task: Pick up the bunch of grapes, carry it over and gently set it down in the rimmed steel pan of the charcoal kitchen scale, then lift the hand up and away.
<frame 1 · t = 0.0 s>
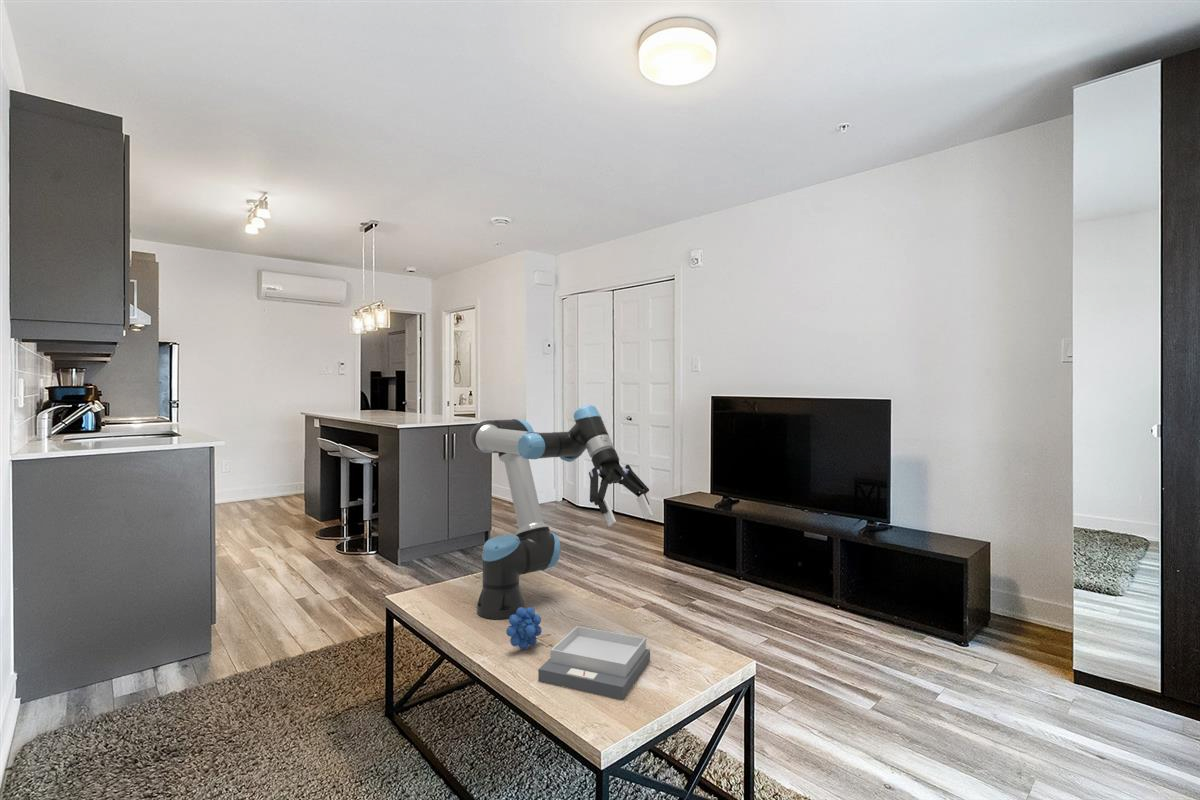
hand: (631, 520, 157), 36 cm above the table, tool tilted 35°, fingers open, 13 cm apart
scale: (599, 667, 148), on the table
grapes: (526, 651, 157), on the table
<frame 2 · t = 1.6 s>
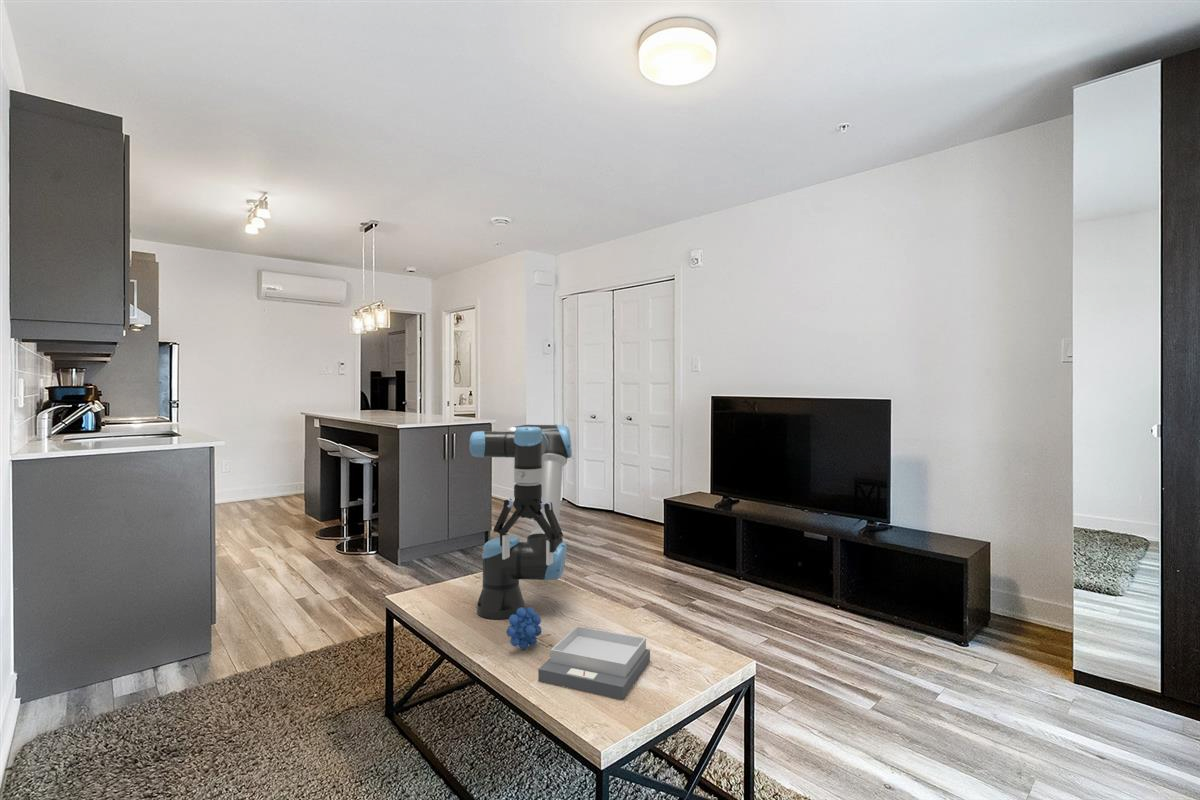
hand: (527, 561, 157), 25 cm above the table, tool pointing down, fingers open, 13 cm apart
nothing on the table moved.
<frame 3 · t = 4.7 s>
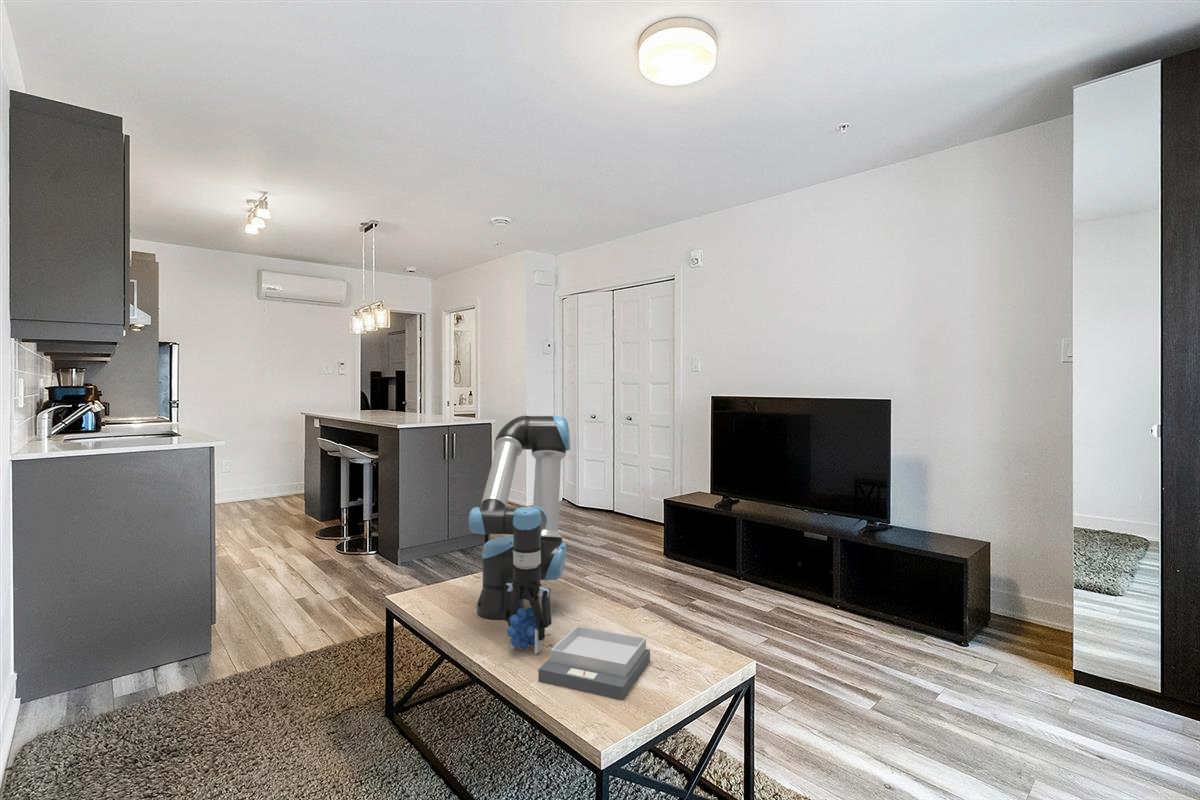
hand: (526, 648, 157), 1 cm above the table, tool pointing down, fingers closed on grapes, 7 cm apart
grapes: (526, 651, 157), on the table, touching gripper
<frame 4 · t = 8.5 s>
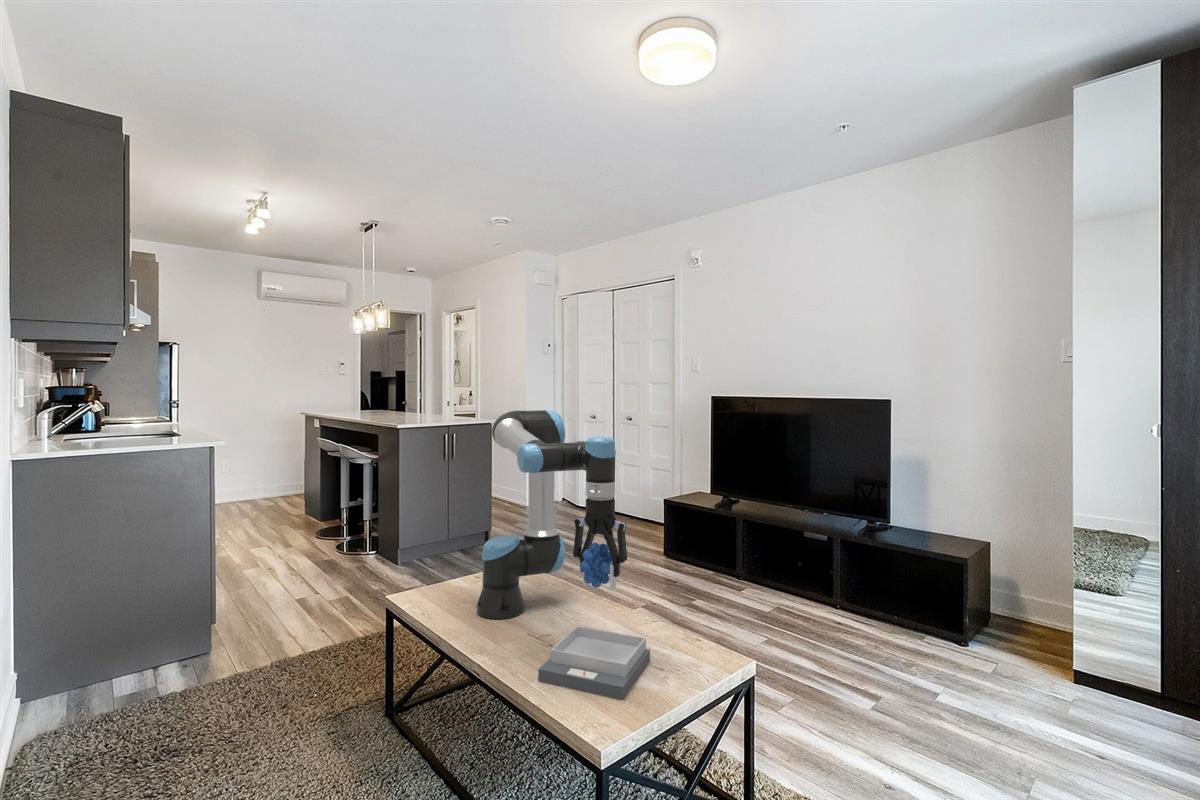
hand: (599, 586, 148), 21 cm above the table, tool pointing down, fingers closed on grapes, 7 cm apart
grapes: (599, 589, 148), point 20 cm above the table, touching gripper
when the fingers open (6 cm above the table, at t = 12.0 s): grapes drops 1 cm, resting on scale.
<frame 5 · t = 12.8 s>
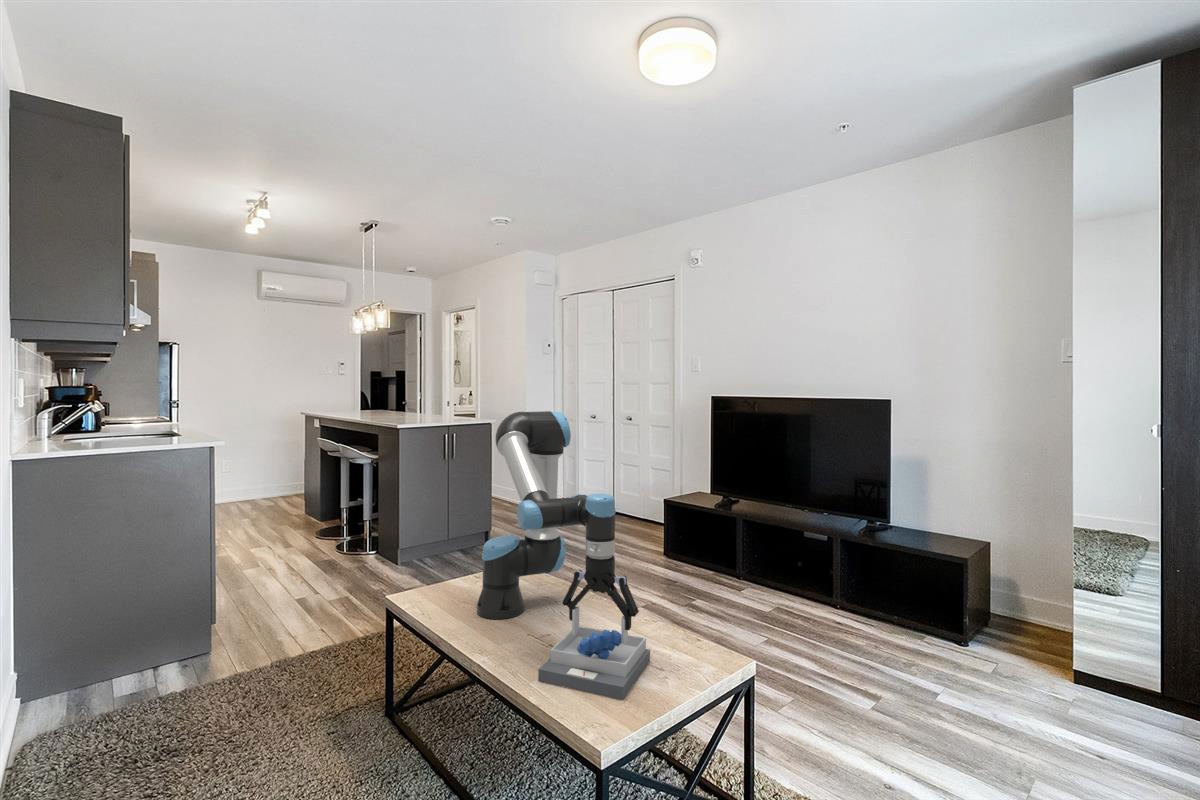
hand: (599, 637, 148), 8 cm above the table, tool pointing down, fingers open, 13 cm apart
grapes: (601, 654, 147), point 4 cm above the table, touching gripper, scale
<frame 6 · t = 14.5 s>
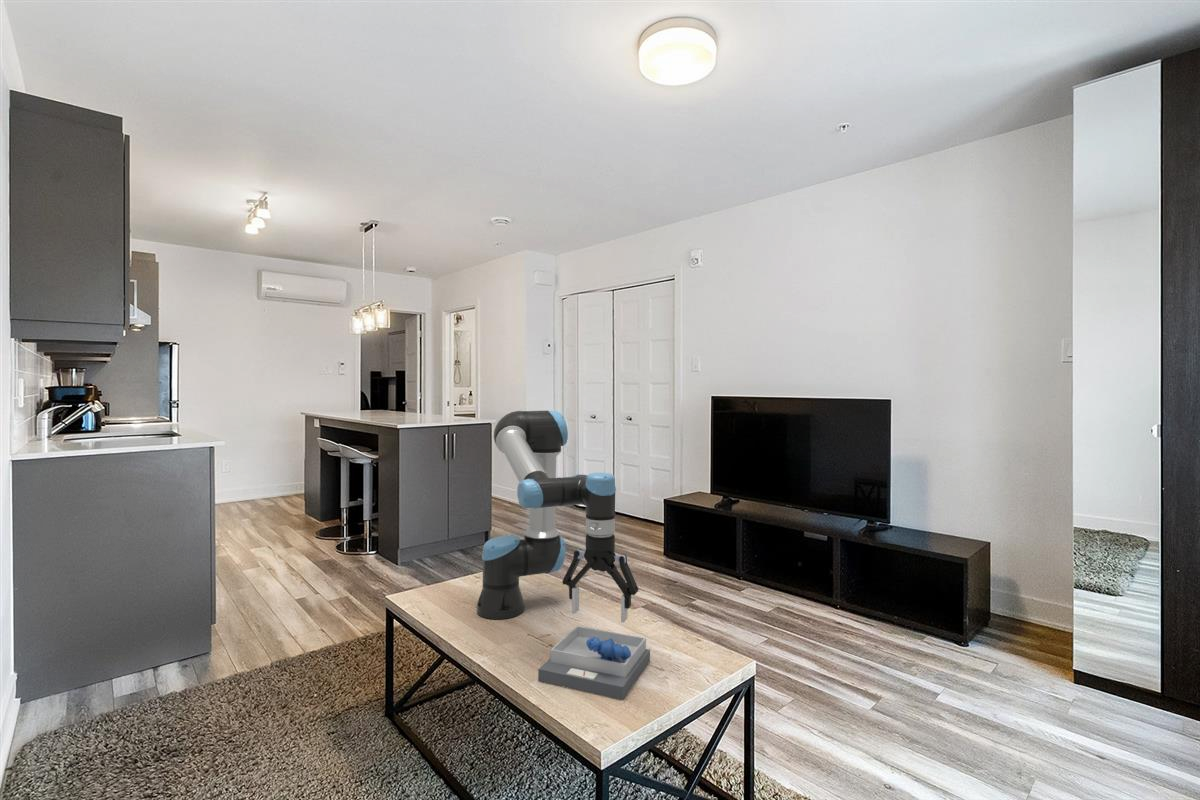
hand: (599, 616, 148), 13 cm above the table, tool pointing down, fingers open, 13 cm apart
grapes: (604, 650, 147), point 4 cm above the table, touching scale
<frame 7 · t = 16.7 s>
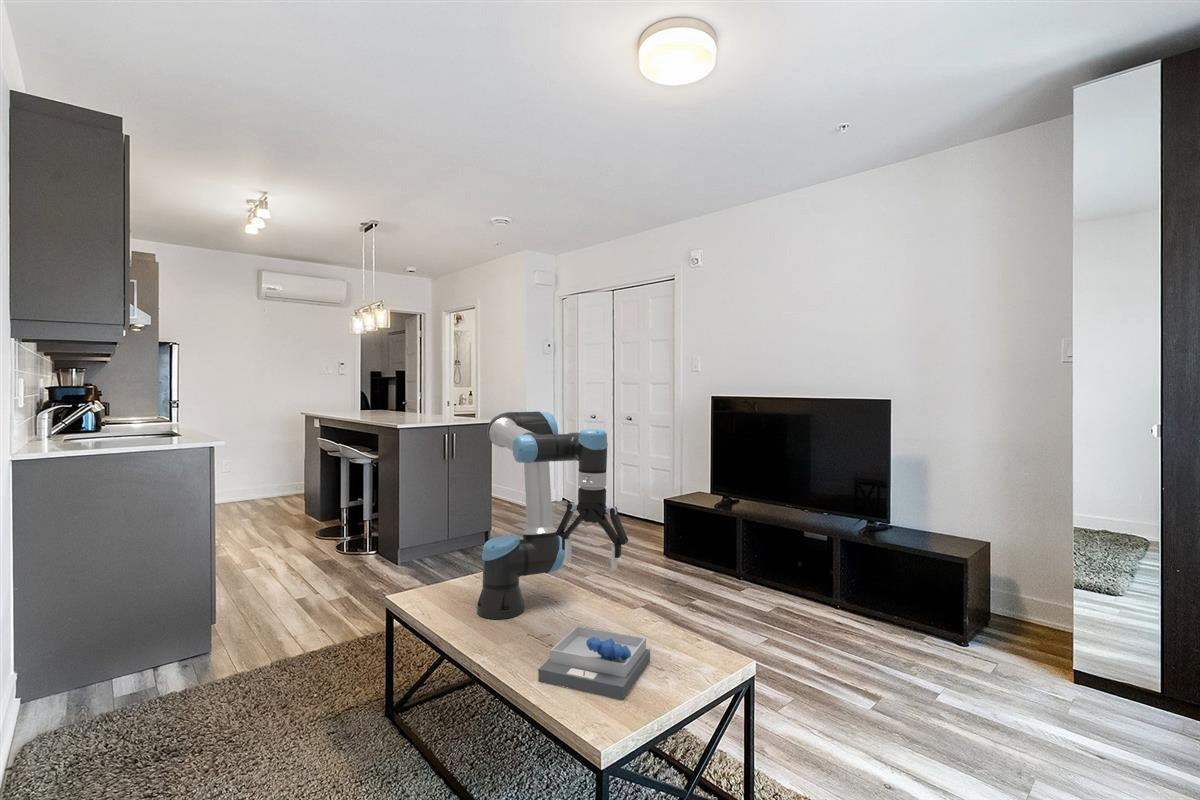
hand: (590, 565, 155), 24 cm above the table, tool pointing down, fingers open, 13 cm apart
nothing on the table moved.
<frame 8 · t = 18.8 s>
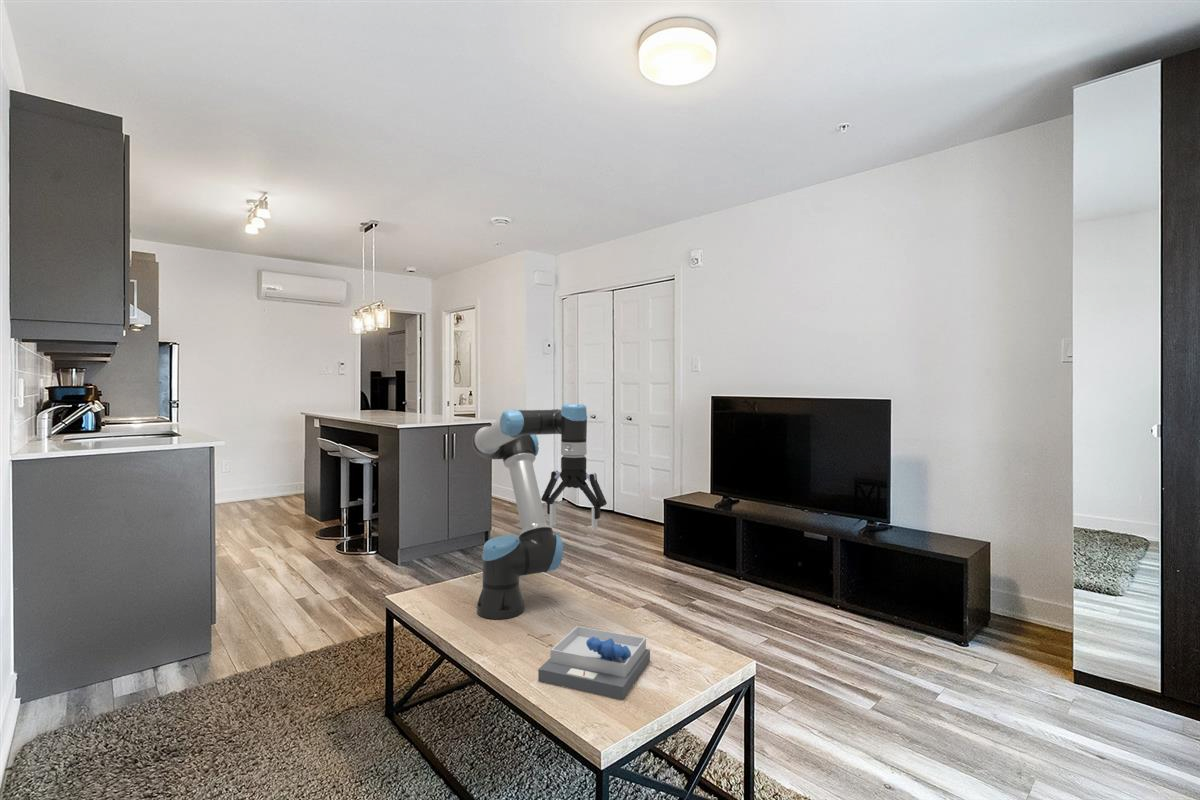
hand: (573, 527, 170), 31 cm above the table, tool pointing down, fingers open, 13 cm apart
nothing on the table moved.
at the end: grapes inside the target area on the scale (1.3 cm from its centre), point 4.5 cm above the scale's base; the gripper is holding nothing; grapes touching scale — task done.
